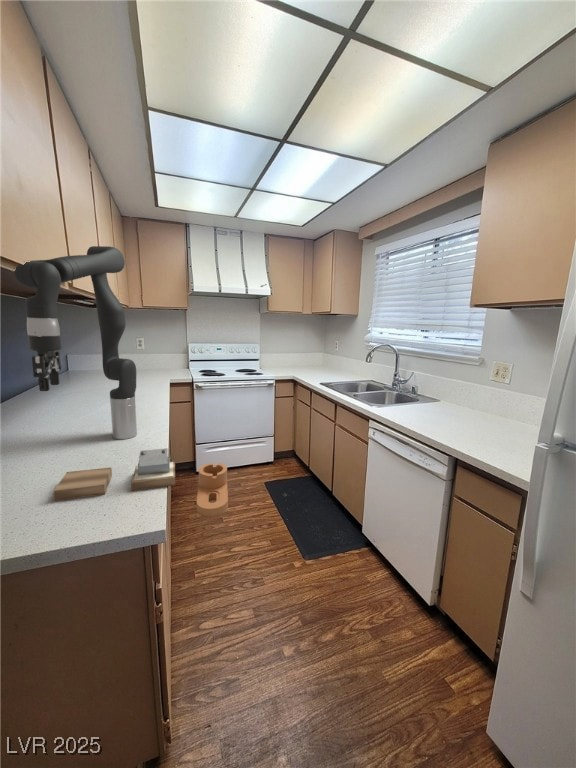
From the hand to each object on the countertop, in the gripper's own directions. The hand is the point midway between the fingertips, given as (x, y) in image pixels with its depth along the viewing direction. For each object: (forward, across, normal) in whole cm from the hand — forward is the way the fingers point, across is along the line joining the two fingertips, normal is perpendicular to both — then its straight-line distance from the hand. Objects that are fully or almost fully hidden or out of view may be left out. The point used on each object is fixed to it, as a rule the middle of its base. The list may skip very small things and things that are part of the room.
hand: (50, 387), depth 93 cm
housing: (+25, +12, +29) cm, 40 cm away
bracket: (+28, +28, +45) cm, 60 cm away
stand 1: (+28, +12, +10) cm, 32 cm away
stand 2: (+28, +12, +29) cm, 42 cm away
